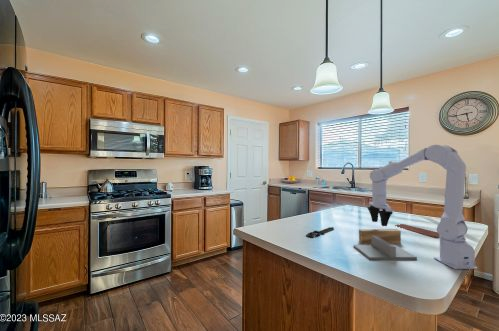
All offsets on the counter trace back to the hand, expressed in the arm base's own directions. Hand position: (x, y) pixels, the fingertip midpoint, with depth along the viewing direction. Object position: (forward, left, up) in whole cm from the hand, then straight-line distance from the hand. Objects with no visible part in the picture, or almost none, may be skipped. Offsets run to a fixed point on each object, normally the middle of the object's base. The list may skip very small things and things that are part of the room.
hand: (379, 223), depth 108 cm
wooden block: (0, 0, -9) cm, 9 cm away
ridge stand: (-13, +6, -9) cm, 17 cm away
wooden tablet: (+19, -32, -10) cm, 38 cm away
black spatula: (+17, +22, -9) cm, 29 cm away
